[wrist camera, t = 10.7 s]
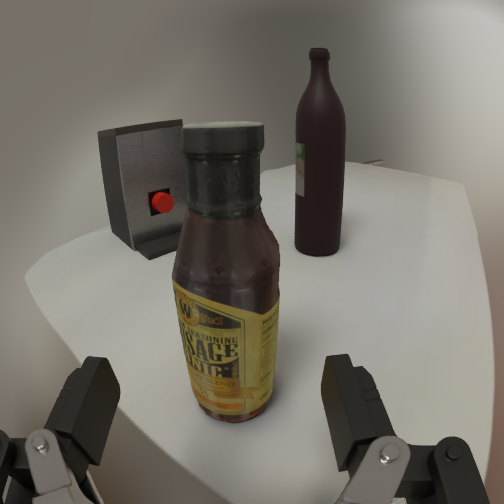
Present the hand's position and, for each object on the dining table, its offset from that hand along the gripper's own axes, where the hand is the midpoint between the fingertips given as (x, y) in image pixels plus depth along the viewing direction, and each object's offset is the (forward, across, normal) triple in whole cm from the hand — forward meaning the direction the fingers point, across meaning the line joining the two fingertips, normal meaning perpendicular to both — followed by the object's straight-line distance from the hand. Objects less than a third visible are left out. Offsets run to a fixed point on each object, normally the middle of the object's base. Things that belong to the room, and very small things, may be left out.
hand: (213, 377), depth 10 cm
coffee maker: (+44, +15, +12) cm, 48 cm away
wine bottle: (+36, -12, +12) cm, 40 cm away
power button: (+40, +12, +6) cm, 42 cm away
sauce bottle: (+8, 0, +12) cm, 14 cm away
